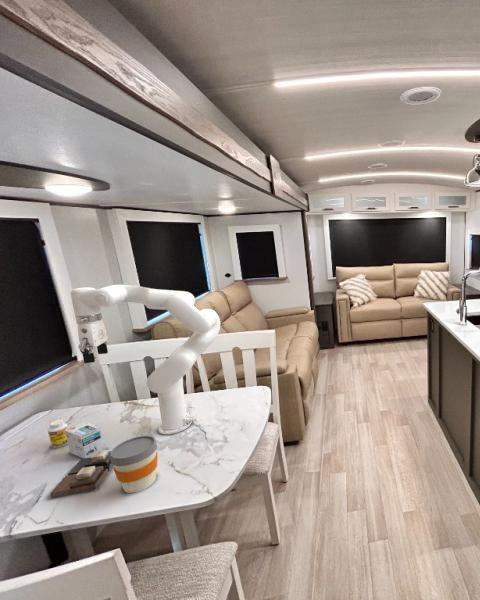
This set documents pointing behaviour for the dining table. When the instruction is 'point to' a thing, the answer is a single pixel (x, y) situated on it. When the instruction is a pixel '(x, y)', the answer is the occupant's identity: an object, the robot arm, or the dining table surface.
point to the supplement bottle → (57, 433)
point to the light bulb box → (85, 439)
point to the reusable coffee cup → (135, 463)
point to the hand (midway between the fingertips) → (96, 357)
